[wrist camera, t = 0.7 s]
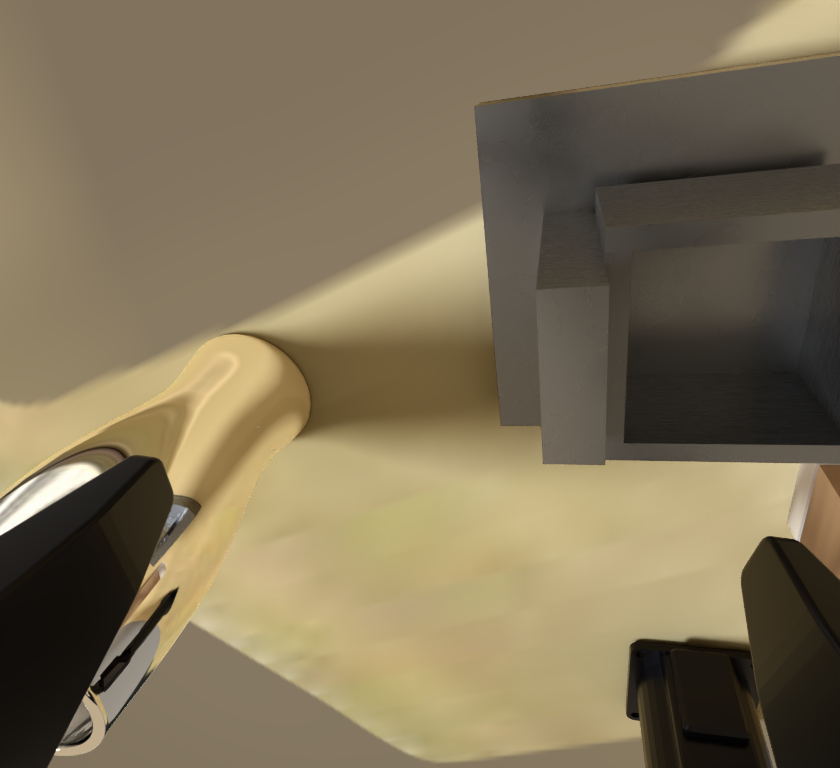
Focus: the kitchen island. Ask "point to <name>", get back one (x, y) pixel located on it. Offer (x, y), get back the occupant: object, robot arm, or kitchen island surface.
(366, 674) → the kitchen island surface
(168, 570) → the beer glass
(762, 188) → the bracket
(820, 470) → the brown rectangular block
